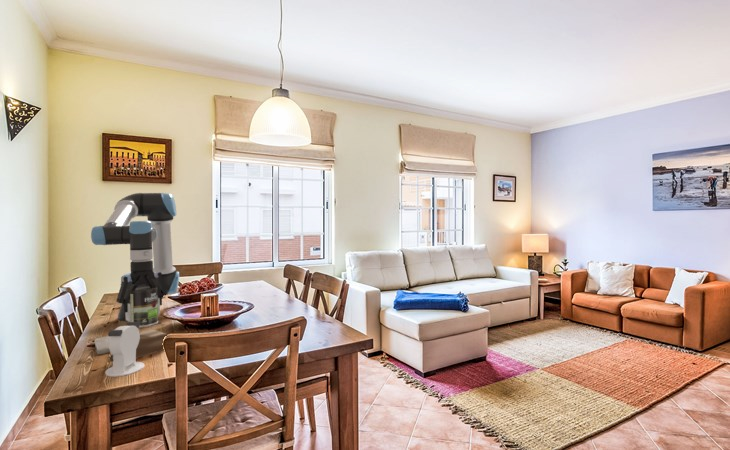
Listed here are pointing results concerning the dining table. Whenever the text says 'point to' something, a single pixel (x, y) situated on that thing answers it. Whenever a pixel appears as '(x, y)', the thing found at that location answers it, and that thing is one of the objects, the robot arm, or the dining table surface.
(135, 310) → the coffee can
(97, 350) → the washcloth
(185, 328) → the dining table surface
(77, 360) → the dining table surface
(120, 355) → the white small appliance
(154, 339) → the walnut box
